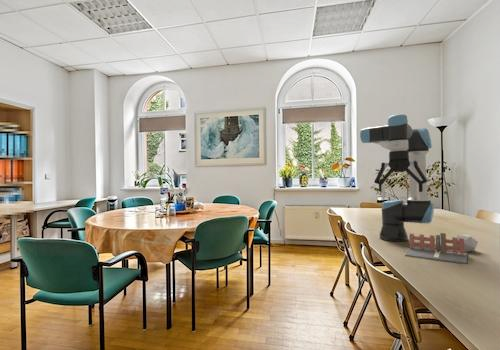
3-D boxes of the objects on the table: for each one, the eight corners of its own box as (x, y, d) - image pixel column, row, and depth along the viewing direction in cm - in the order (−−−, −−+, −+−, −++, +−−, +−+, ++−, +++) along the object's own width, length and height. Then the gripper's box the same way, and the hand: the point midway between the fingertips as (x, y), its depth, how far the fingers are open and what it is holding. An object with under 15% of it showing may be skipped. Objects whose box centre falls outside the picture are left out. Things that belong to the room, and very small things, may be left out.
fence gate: (440, 250, 134) (440, 235, 134) (440, 251, 132) (439, 235, 133) (410, 246, 142) (409, 232, 142) (409, 247, 141) (409, 233, 141)
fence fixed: (441, 252, 132) (440, 233, 132) (441, 251, 134) (440, 232, 134) (464, 254, 127) (463, 235, 127) (464, 253, 128) (463, 234, 128)
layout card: (412, 246, 146) (412, 245, 146) (467, 253, 131) (467, 251, 131) (405, 255, 130) (405, 254, 130) (466, 264, 116) (466, 262, 116)
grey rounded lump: (479, 255, 129) (483, 237, 132) (461, 246, 131) (465, 228, 134) (466, 257, 137) (471, 240, 140) (449, 248, 138) (454, 231, 141)
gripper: (366, 152, 124) (367, 199, 124) (431, 147, 108) (433, 200, 108) (370, 153, 130) (372, 198, 130) (433, 148, 114) (435, 199, 114)
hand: (400, 199), depth 119 cm, fingers open, 13 cm apart
